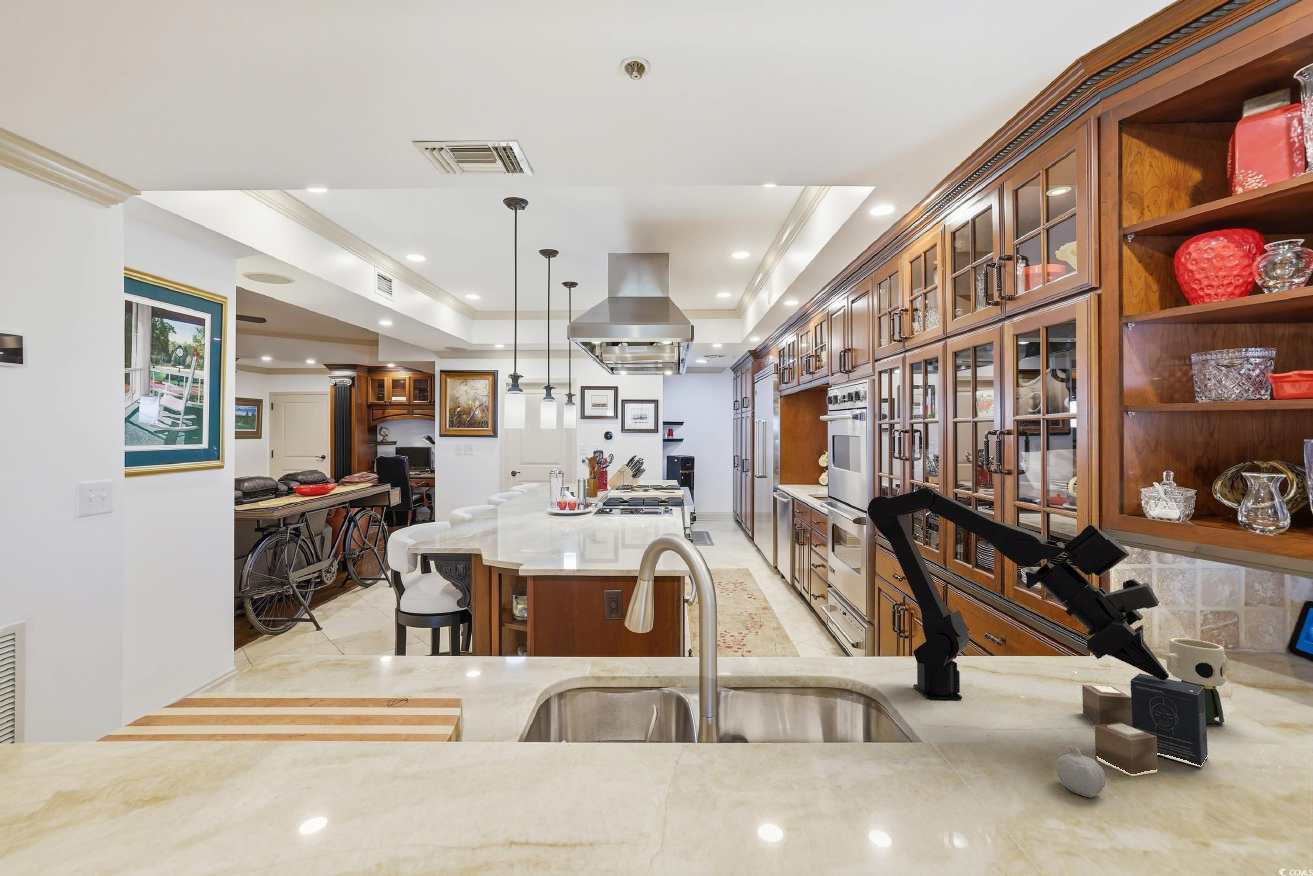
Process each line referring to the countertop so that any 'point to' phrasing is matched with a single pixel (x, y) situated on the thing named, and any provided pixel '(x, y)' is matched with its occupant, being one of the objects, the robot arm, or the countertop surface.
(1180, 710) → the box
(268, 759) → the countertop surface
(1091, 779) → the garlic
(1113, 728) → the walnut cube near
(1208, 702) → the character mug
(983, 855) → the countertop surface
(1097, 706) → the walnut cube far
